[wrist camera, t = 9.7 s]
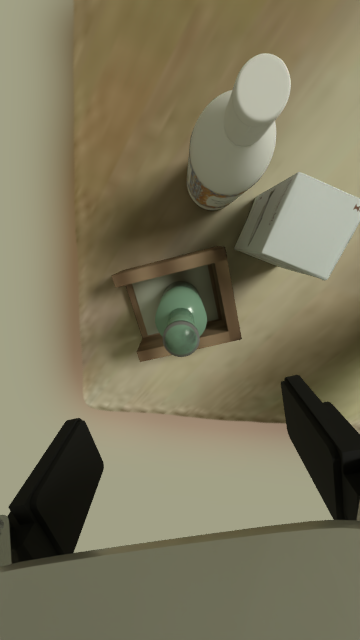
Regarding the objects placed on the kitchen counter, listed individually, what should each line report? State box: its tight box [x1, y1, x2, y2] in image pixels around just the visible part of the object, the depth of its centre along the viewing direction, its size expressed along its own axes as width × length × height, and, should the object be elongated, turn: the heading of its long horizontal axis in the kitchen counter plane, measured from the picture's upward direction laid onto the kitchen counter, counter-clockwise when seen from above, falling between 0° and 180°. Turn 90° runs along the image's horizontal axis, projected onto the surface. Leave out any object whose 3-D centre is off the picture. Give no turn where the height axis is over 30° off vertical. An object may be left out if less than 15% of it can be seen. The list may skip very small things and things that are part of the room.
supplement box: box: [234, 172, 360, 280], centre depth 27 cm, size 7×7×13 cm
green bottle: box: [155, 281, 207, 357], centre depth 28 cm, size 6×6×15 cm
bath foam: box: [187, 54, 291, 210], centre depth 22 cm, size 7×7×20 cm
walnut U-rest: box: [112, 246, 242, 362], centre depth 33 cm, size 14×12×6 cm
